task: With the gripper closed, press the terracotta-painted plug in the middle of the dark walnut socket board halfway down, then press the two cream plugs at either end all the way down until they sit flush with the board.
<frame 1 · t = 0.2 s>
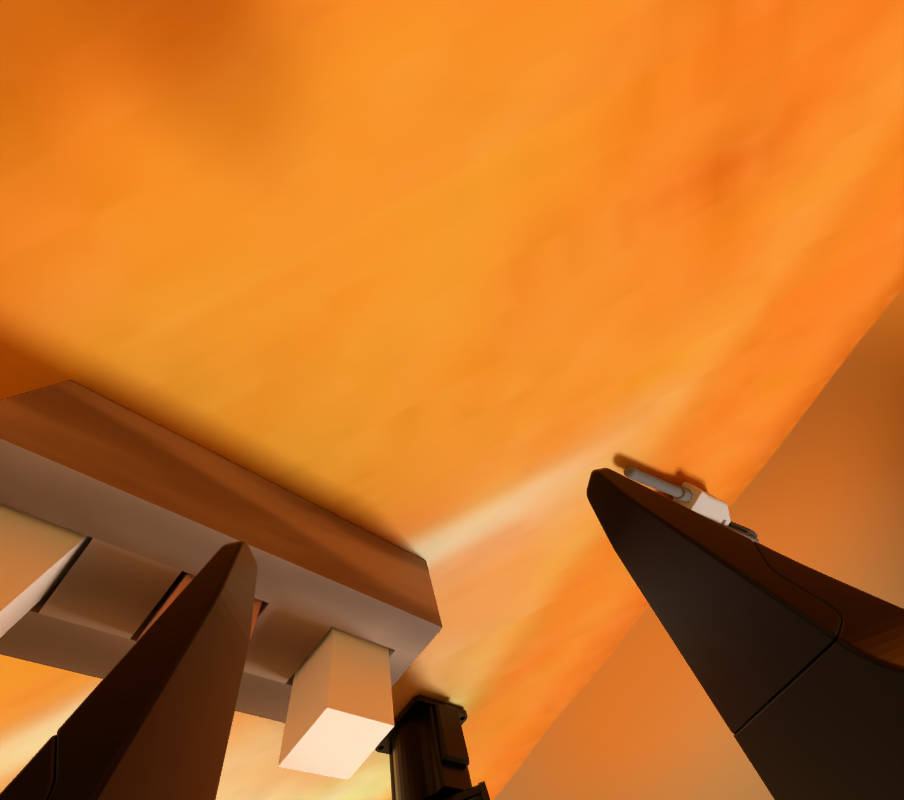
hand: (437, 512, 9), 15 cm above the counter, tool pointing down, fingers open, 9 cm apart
plug terracotta: (192, 640, 17), point 7 cm above the counter, slide at 0.0 cm
walkie-talkie: (668, 520, 34), on the counter
socket board: (239, 544, 24), on the counter
plug cream 2: (341, 685, 20), point 7 cm above the counter, slide at 0.0 cm
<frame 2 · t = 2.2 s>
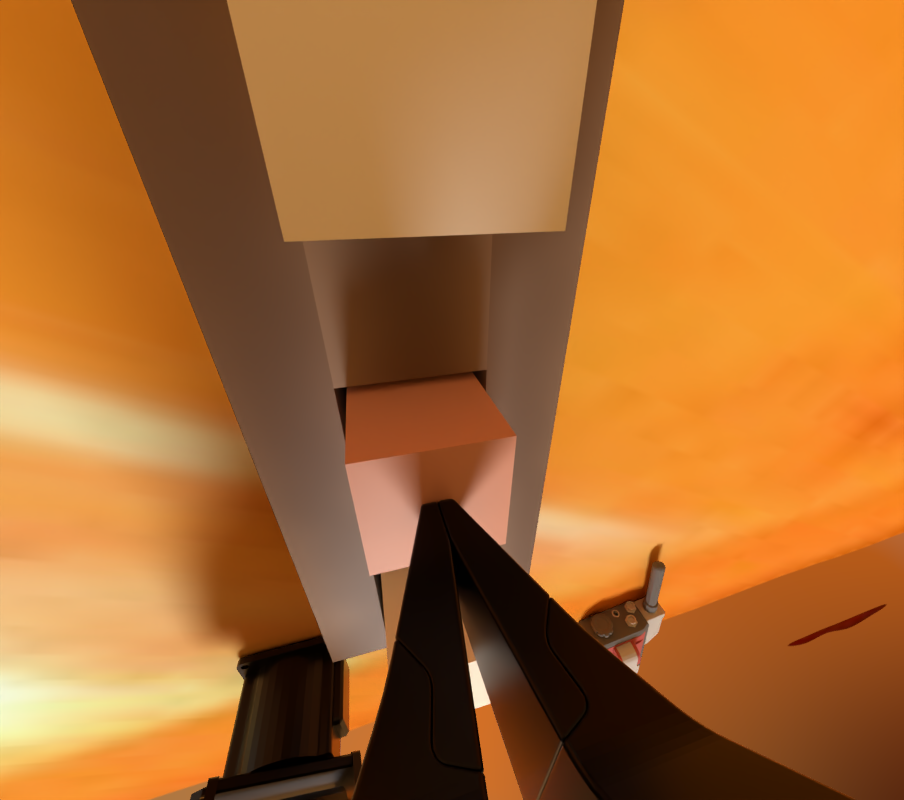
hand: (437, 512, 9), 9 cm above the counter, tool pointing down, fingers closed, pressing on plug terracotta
plug terracotta: (419, 443, 11), point 6 cm above the counter, slide at 0.9 cm, touching gripper
plug cream 1: (399, 99, 6), point 7 cm above the counter, slide at 0.0 cm
walkie-talkie: (610, 613, 37), on the counter
socket board: (398, 366, 17), on the counter
plug cream 2: (435, 613, 15), point 7 cm above the counter, slide at 0.0 cm
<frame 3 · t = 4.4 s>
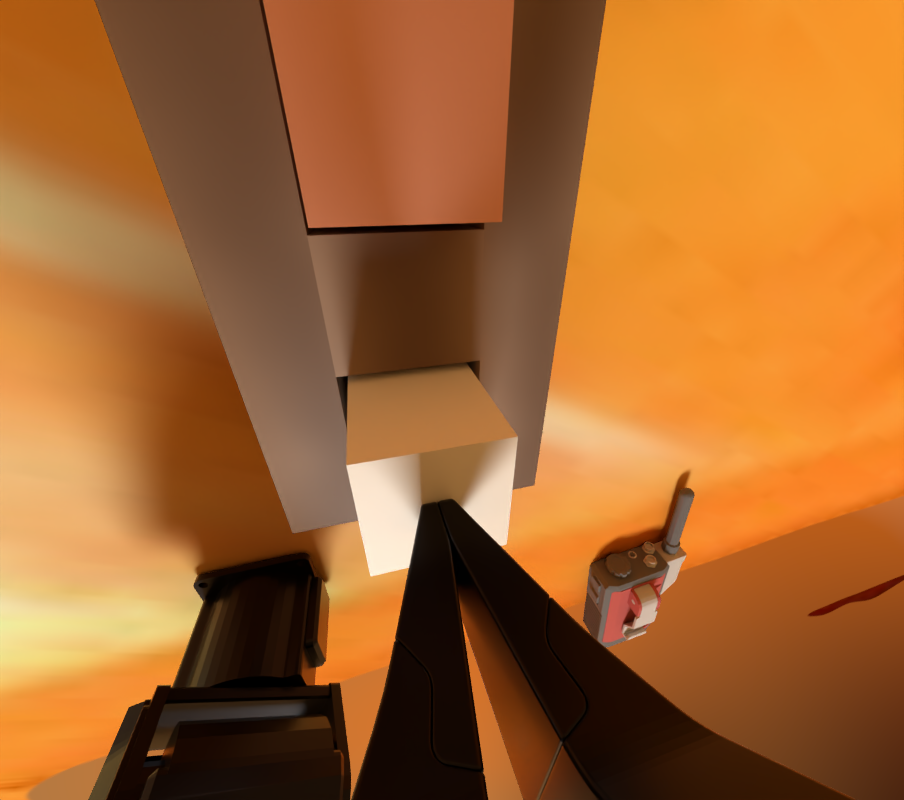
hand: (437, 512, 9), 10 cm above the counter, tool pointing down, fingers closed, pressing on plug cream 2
plug terracotta: (388, 126, 9), point 5 cm above the counter, slide at 1.9 cm
walkie-talkie: (623, 559, 34), on the counter
socket board: (375, 150, 13), on the counter
plug cream 2: (420, 444, 11), point 7 cm above the counter, slide at 0.1 cm, touching gripper
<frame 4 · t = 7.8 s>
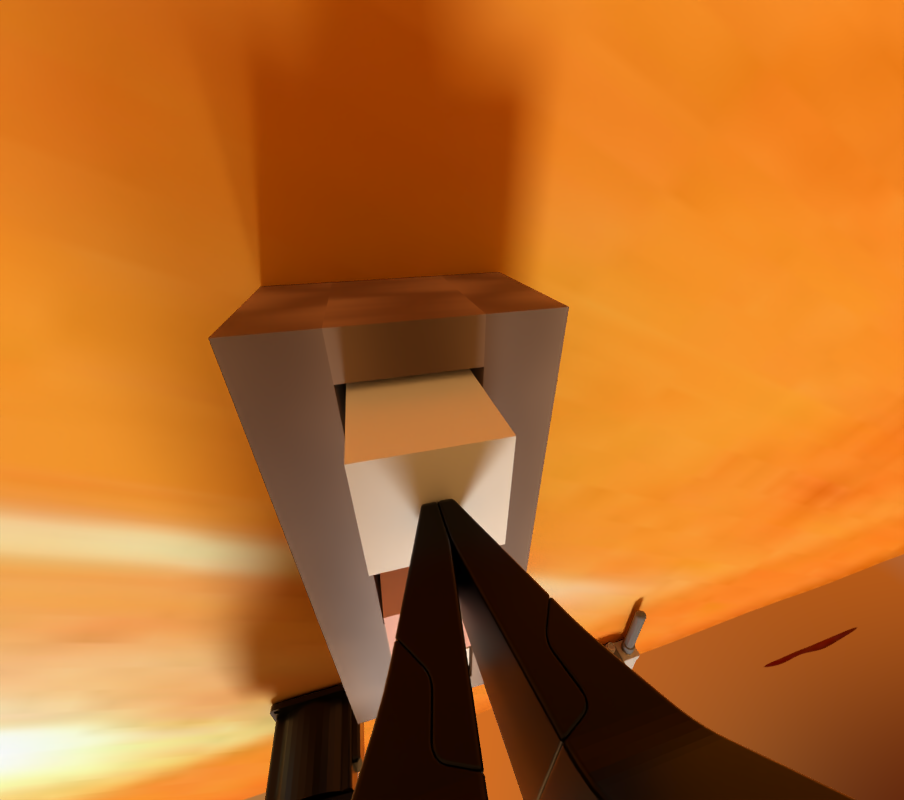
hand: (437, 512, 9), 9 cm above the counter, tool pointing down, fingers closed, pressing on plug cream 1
plug terracotta: (425, 568, 17), point 5 cm above the counter, slide at 1.9 cm
plug cream 1: (418, 443, 11), point 6 cm above the counter, slide at 0.7 cm, touching gripper
walkie-talkie: (591, 651, 42), on the counter
socket board: (409, 492, 21), on the counter
plug cream 2: (426, 623, 22), point 3 cm above the counter, slide at 3.8 cm
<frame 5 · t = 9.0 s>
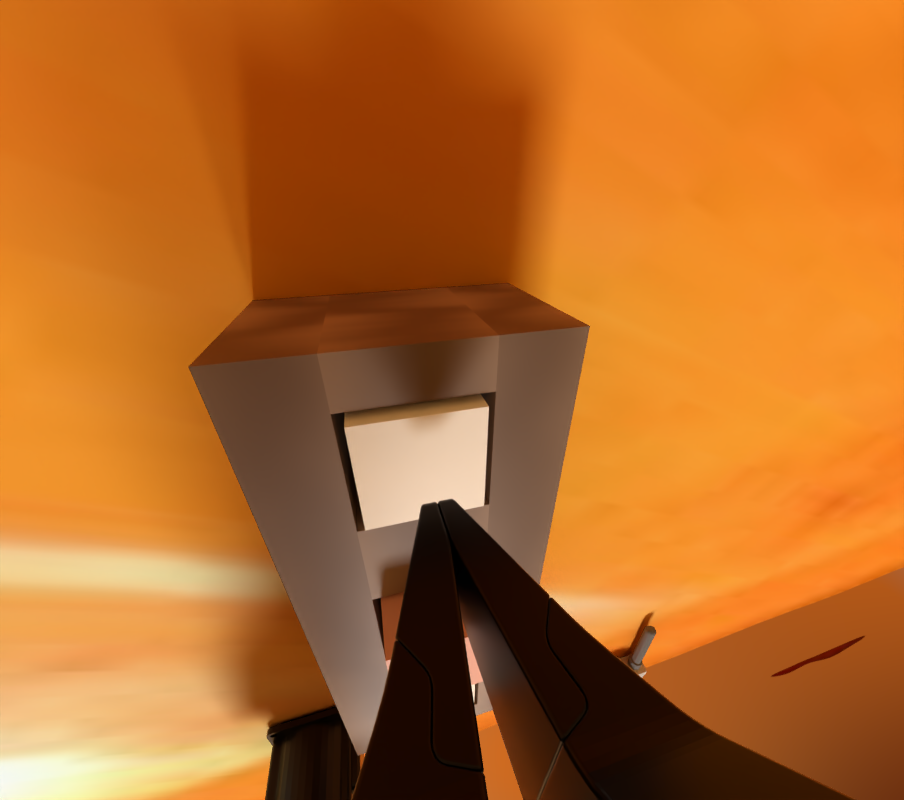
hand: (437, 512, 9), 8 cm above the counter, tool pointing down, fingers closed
plug terracotta: (429, 597, 16), point 5 cm above the counter, slide at 1.9 cm
plug cream 1: (409, 420, 13), point 3 cm above the counter, slide at 3.7 cm
walkie-talkie: (596, 666, 41), on the counter
socket board: (412, 511, 20), on the counter
plug cream 2: (429, 648, 21), point 3 cm above the counter, slide at 3.8 cm
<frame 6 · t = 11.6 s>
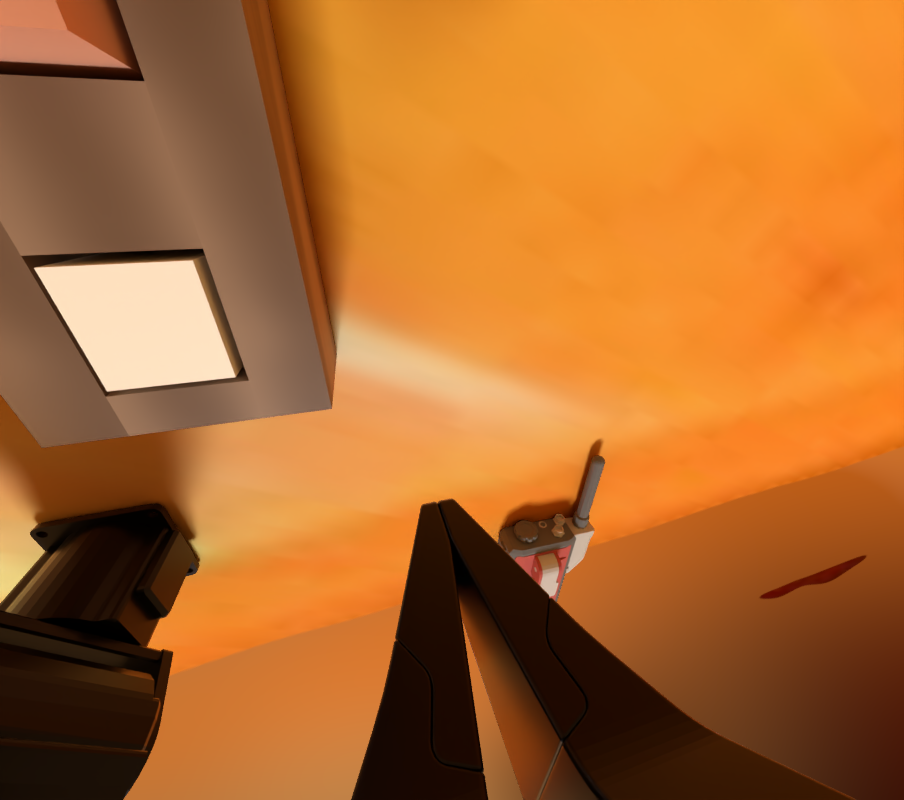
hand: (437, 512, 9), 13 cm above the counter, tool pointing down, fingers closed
walkie-talkie: (535, 532, 34), on the counter
socket board: (124, 39, 12), on the counter
plug cream 2: (183, 306, 14), point 3 cm above the counter, slide at 3.8 cm
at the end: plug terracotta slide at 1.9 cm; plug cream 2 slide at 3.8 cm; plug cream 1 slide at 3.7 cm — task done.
